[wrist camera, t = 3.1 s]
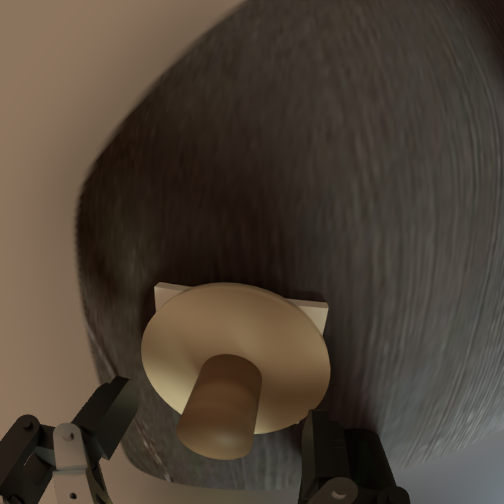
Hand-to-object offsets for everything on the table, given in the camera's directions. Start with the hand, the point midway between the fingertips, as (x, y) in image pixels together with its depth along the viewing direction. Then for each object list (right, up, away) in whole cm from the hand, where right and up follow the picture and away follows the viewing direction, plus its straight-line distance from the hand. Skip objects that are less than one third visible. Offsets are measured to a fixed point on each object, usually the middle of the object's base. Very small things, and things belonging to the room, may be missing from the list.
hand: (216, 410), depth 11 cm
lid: (+1, +1, +3) cm, 3 cm away
